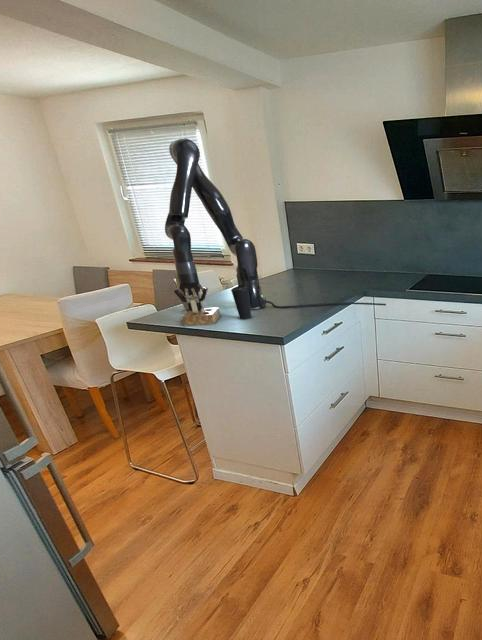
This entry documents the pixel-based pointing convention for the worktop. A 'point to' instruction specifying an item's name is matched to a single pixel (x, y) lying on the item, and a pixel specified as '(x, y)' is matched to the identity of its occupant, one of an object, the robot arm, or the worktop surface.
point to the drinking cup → (242, 300)
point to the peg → (194, 305)
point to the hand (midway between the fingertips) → (196, 310)
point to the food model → (185, 294)
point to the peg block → (201, 316)
